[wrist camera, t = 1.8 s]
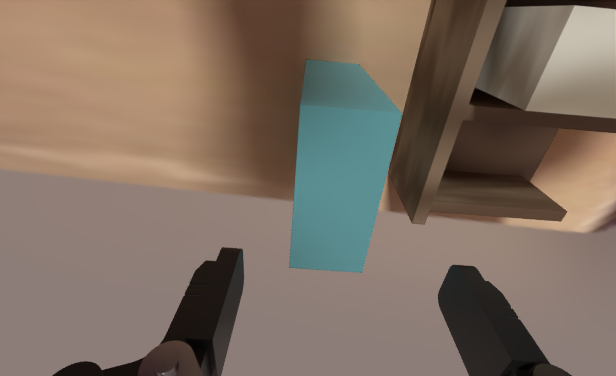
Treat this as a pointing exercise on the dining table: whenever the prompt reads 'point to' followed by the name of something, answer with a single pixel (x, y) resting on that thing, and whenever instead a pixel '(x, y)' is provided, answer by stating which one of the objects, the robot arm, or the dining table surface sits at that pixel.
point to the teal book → (339, 165)
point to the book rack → (501, 102)
